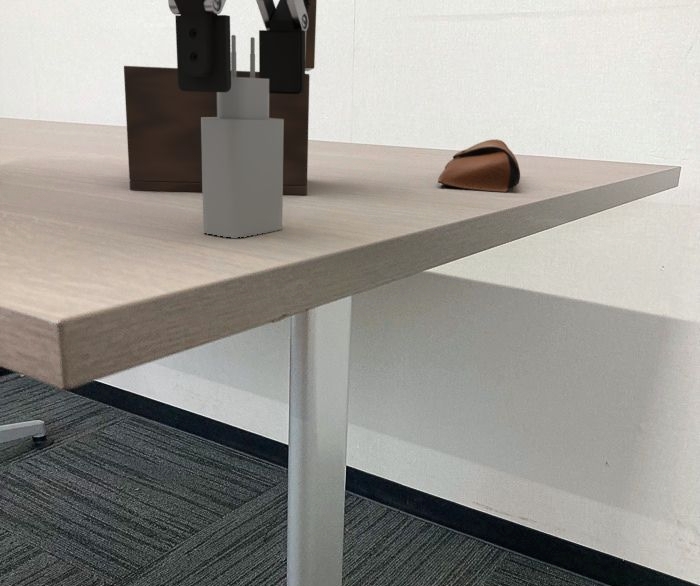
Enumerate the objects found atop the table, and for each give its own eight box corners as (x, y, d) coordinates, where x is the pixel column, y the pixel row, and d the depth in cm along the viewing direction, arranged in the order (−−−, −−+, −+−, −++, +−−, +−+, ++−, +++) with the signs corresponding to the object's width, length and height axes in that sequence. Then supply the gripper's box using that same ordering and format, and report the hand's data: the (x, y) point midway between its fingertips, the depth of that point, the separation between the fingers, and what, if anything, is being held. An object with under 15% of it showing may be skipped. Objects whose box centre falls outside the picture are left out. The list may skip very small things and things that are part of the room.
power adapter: (286, 228, 53) (289, 39, 49) (235, 239, 48) (234, 32, 44) (250, 222, 54) (250, 39, 50) (198, 232, 50) (193, 32, 46)
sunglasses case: (440, 167, 95) (472, 120, 93) (487, 199, 96) (520, 153, 93) (435, 183, 78) (474, 126, 76) (492, 222, 79) (532, 166, 76)
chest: (129, 190, 68) (123, 65, 64) (151, 174, 80) (147, 68, 76) (306, 195, 69) (309, 73, 66) (302, 179, 81) (304, 75, 78)
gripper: (257, -176, 52) (259, 92, 57) (82, -293, 36) (107, 88, 42) (361, -186, 49) (353, 96, 55) (220, -317, 34) (228, 92, 39)
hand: (246, 92), depth 48 cm, fingers open, 9 cm apart
